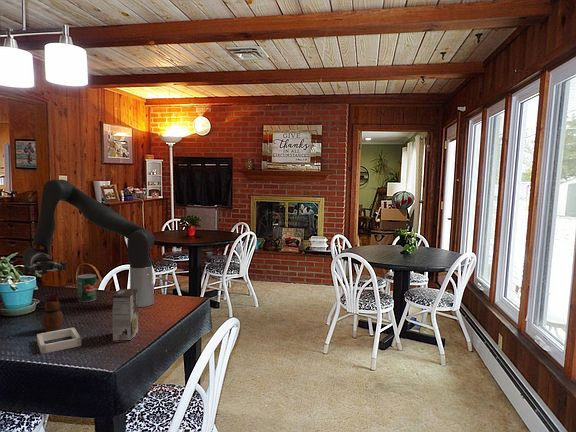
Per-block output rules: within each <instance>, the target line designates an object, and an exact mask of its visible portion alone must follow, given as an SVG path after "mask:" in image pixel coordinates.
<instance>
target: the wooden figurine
mask: <svg viewBox="0 0 576 432" xmlns="http://www.w3.org/2000/svg"><path fill="white" fill-rule="evenodd" d="M58 294H59V291H58V289H56V291H55V294H54V291H52V292H51V294H49V296H47V297H46V301H45V303H44V312H43V314H42V317H41V325H42V327H43V330H44V331H46V332H51V331H57V330H62V326H63V323H64V314H63V312H62V311H61V310H59V309H60V307H61V303H60V301H59V295H58Z"/></svg>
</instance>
